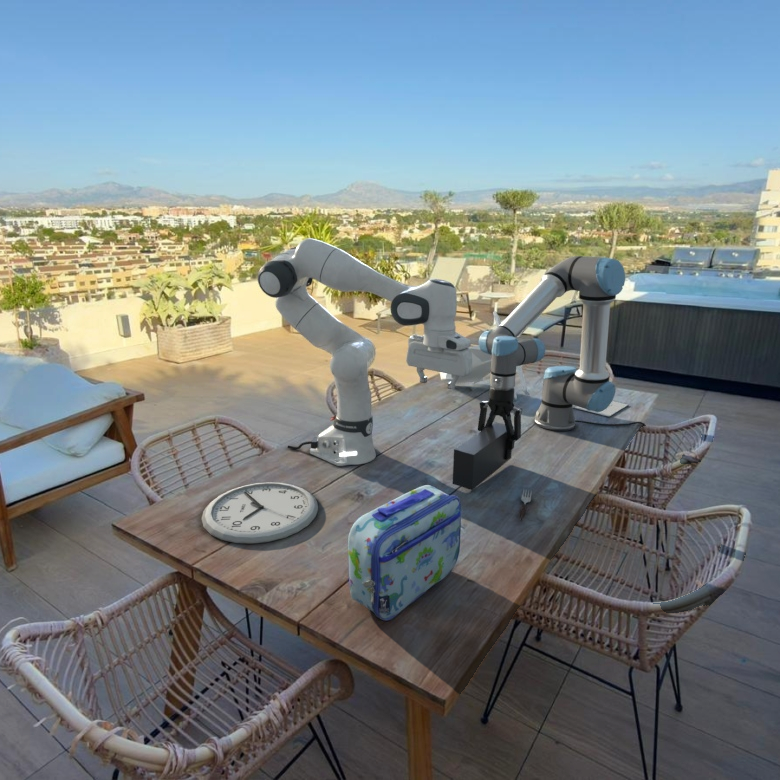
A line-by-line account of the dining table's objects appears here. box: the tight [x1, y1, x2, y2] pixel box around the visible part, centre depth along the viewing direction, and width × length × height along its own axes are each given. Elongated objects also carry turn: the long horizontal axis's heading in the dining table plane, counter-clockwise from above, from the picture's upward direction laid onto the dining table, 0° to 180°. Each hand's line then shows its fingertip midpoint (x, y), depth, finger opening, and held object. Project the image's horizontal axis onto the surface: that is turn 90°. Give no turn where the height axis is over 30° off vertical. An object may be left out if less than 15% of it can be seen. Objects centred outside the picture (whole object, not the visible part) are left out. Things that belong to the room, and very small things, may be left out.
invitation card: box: [573, 400, 629, 418], centre depth 226 cm, size 21×1×15 cm
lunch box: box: [347, 484, 462, 621], centre depth 107 cm, size 26×11×21 cm, turn 134°
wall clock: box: [201, 481, 319, 544], centre depth 139 cm, size 30×2×30 cm
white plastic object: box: [439, 310, 531, 400], centre depth 245 cm, size 37×45×31 cm
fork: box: [520, 488, 533, 521], centre depth 143 cm, size 3×16×2 cm, turn 160°
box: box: [452, 421, 513, 491], centre depth 160 cm, size 26×6×11 cm, turn 143°
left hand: (437, 385), depth 151 cm, fingers open, 8 cm apart
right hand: (497, 455), depth 168 cm, fingers closed on box, 6 cm apart
